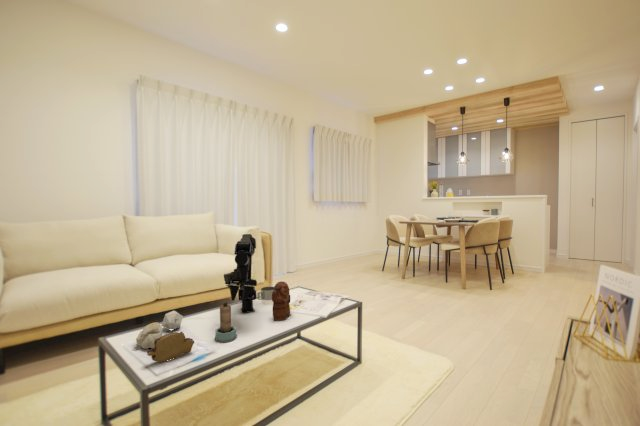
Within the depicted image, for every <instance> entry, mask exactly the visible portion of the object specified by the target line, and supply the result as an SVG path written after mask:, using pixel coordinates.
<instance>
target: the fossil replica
mask: <svg viewBox="0 0 640 426" xmlns="http://www.w3.org/2000/svg"><path fill="white" fill-rule="evenodd" d="M161 325H162V324H160V323H159V322H158V321H156V322H155V321H154V322H152V323H151V322H150V323H149V324H146V325H145V326H144V327H143V328H142V330H141V331H139V333H138V335H137V337H136V344H137V345H139V346H140V347H141V348H143V350H144V349H145V350H149V348H150V349H153V348H154V347H155V345H154V342H155V340H156V339H158V338H160V337H161V336H163V326H161Z"/></svg>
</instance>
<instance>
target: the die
mask: <svg viewBox="0 0 640 426" xmlns="http://www.w3.org/2000/svg"><path fill="white" fill-rule="evenodd" d="M183 318H184V316H183V315H182V314H180V313H179V312H178V311H176V310H172V311H169V312H167V313H165V314H164V318H163V320H162V322H161V324H160V325H161V327H162V328H165V329H166V330H168V329H175V330H177V329H179V328H180V327H181V324H182V323H183ZM178 327H179V328H178ZM176 328H177V329H176Z"/></svg>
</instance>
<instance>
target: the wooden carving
mask: <svg viewBox="0 0 640 426" xmlns="http://www.w3.org/2000/svg"><path fill="white" fill-rule="evenodd" d="M194 344H195V340H194V339H193V338H190V337H186V336H185V334H184V332H183V331H180V332H176V331H174V332H173V331H172V332H168V333H167V334H164V335H163V334H162V336H161V337H160V338H158V339H156V340H155V342H154V345H155V347H154V348H150V349H147V350H146V355H147V356H149V357H151V360H152V361H153V362H163V363H164V361H165V362H168V361H167V360H170V359H173V358H175V359H177V358H179V357H180V356H181V355H183V354H189V353H190V352H191V351H192V348H193V346H194ZM178 356H179V357H178ZM176 357H177V358H176ZM173 360H174V359H173ZM170 361H171V360H170Z"/></svg>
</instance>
